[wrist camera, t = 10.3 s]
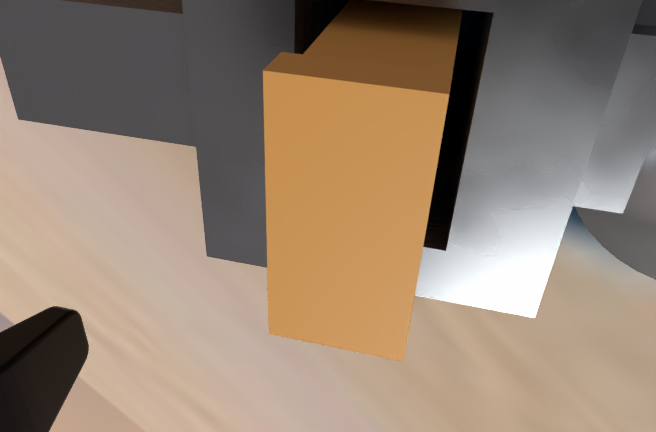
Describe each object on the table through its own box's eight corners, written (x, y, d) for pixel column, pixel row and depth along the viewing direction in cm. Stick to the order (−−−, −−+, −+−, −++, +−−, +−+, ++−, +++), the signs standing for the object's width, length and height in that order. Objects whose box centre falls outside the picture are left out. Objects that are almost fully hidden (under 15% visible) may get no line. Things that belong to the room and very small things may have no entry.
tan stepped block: (468, -23, 16) (449, 94, 9) (436, 164, 19) (403, 361, 12) (363, -32, 16) (262, 70, 9) (350, 151, 20) (268, 333, 13)
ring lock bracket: (1174, -83, 12) (1633, -31, 7) (874, 299, 18) (1013, 467, 13) (19, -155, 17) (-171, -153, 12) (91, 169, 23) (-17, 258, 18)
